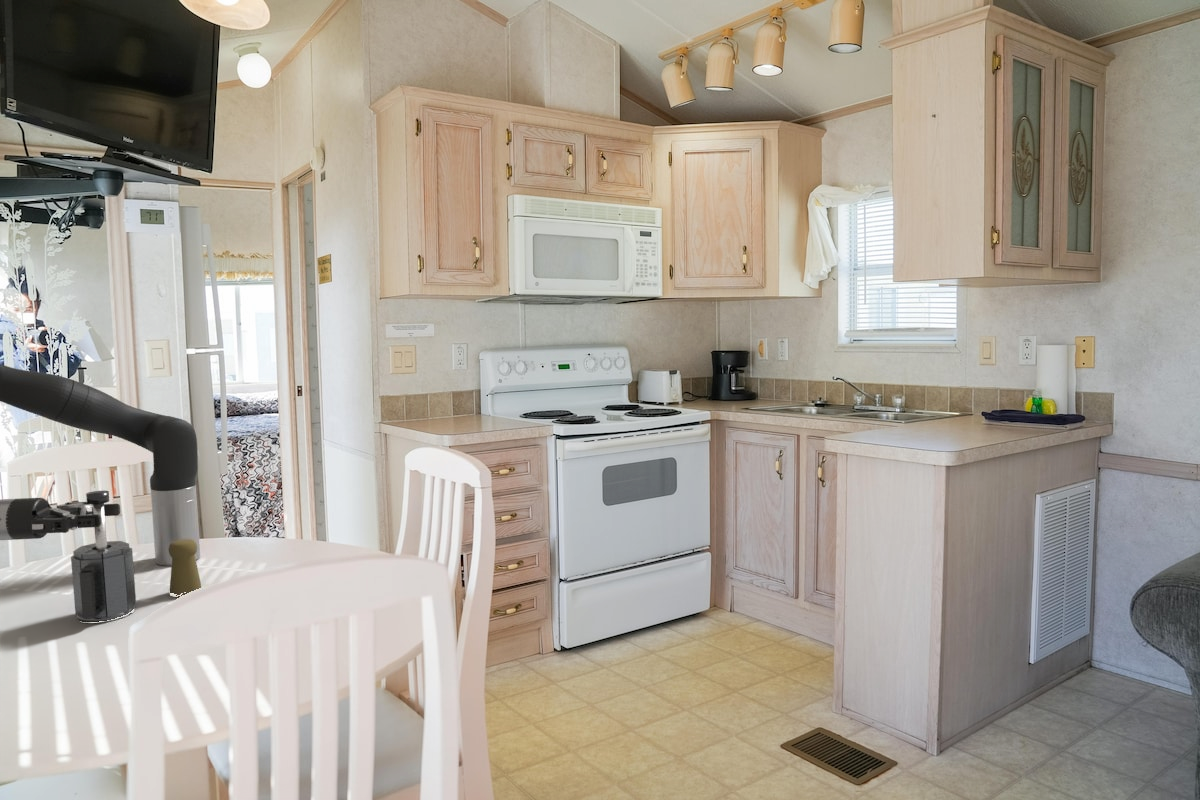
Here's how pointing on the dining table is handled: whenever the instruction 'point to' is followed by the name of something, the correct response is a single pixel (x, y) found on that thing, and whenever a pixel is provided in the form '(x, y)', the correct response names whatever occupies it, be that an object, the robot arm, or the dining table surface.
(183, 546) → the cork
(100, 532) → the plunger
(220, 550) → the dining table surface
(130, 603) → the coffee press
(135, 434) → the robot arm
